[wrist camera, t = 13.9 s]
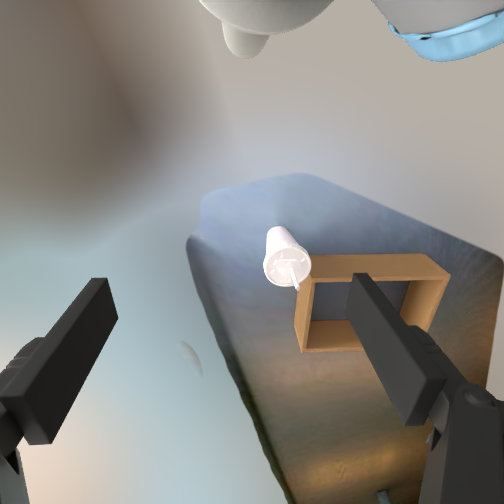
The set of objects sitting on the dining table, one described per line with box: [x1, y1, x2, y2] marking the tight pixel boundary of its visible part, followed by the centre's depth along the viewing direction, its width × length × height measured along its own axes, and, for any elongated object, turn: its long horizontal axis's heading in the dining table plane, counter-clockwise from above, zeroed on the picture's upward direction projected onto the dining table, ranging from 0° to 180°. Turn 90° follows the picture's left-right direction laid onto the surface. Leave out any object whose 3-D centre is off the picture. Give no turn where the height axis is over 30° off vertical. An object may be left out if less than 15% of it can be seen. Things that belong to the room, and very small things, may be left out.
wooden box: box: [294, 253, 451, 352], centre depth 49 cm, size 16×22×7 cm
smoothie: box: [263, 226, 311, 290], centre depth 40 cm, size 6×6×14 cm
